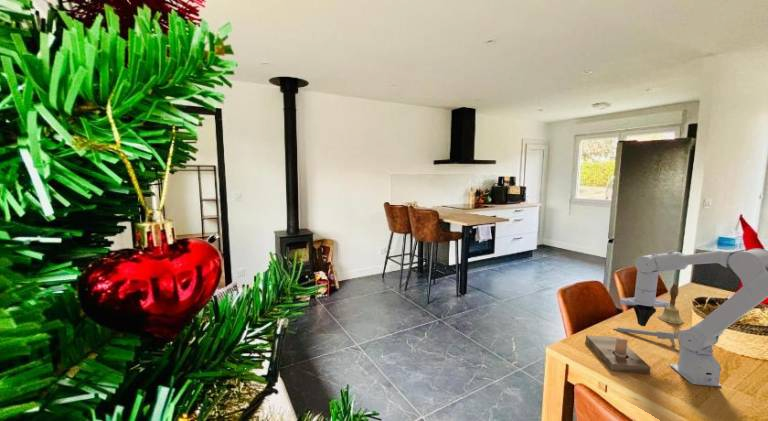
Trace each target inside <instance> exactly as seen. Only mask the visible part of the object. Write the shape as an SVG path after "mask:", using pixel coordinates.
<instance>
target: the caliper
mask: <svg viewBox="0 0 768 421" xmlns="http://www.w3.org/2000/svg"><path fill="white" fill-rule="evenodd" d="M613 330H615V331H619V332H621V333H627V334H635V335H636V334H637V335H642V336H652V337H657V338H656V339H658V340H659V339H661V340H669V342H670V343H671V345H672V346H673V347H676V344H675V340H676V339H677V342H678V345H679V347H680V345H681V344H680V342H679V341H678V333H679V332H680V331H679V330H677V331H675V330H673V332H672V331H671V332H670V331H663V330H662V331H661V330H656V331H653V330H645V329H637V328H629V327H621V326H617V327H613Z"/></svg>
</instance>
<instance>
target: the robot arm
mask: <svg viewBox="0 0 768 421" xmlns="http://www.w3.org/2000/svg"><path fill="white" fill-rule="evenodd" d="M704 264H705V265H706V264H719V265H721V266H722V267H724V268H730V269H731V270H732V271H733V272H734V274H735V275H736V276H737V277H738V278H739V279H740V281H741V283H742V284H741V285H742V287H741V288H740V289H739V290H737V291H736V292H735V293H734V294H732V295H731V296H730V297H729V298H727V300H725V301H724V302H723V303H722V304H720V305H719V306H718V307H717V308H715V309H714V310H713V311H712V312H711V313H709V314H708V315H707V316H706V317H705V318H703V319H702V320H701V321H699V322H698V323H696V324H694V325H693V326H691V327H690V328H687V329H682V330H680V331H679V333H678V339H677V342H678V341H679V342H680V344H681V345H680V346H679V354H678V361H677V364H674V363H673V364H672V363H670V364H669V365H670V367H671V368H672V369H673V370H675V371H676V372H677V373H678V374H679V375H681V376H682V377H683V378H684V379H686V380H687V381H688V382H689V383H690V384H692V385H697V386H698V385H699V386H711V387H719V388H720V387H722V384H721V383H720V378H721V373H722V372H721V370H722V366H721V363H720V362H719V361H718V360H717V359H716V358H715V357H714V354H713V352H714V350H713V346H715V345H717V343H718V342H719V339H720V336H721V335H722V334H723V333H724V331H726V330H727V329H728V328H729V327H730V326H732V325H733V324H734V323H736V322H737V321H738V320H739V319H741V318H742V317H744V316H745V315H746V314H748V313H749V312H750V311H751V310H753V309H754V308H755V307H757V306H758V305H759V304H760V303H763V302H764V300H766V299H767V298H768V250H767V249H765V248H763V249H762V248H751V249H748V250H747V249H746V248H733V249H719V250H712V251H704V252H698V253H691V254H684V253H682V252H680V251H675V250H674V249H673V250H668V251H667V252H664V253H657V252H653V253H651V254H647V255H642V256H639V257H637V258H636V259H635V260H634V267H635V268H636V270H637V272H636V279H635V286H634V287H635V289H634V295H633V296H634V297H624V298H623V297H620V299H619V304H621V305H622V306H625V307H626V306H632V308H633V310H634V312H635V315H636V319H637V324H638V325H639V326H641V327H646V325H647V323H648V322H649V320H650V318H651V317H652V316H653V315H654V314H655V313H656V312H657V309H656V308H664V309H665V308H669V305H670V302H668V301H667V300H663V299H662V300H661V299H656V295H657V288H658V281H659V273H660V272H665V271H667V272H668V271H677V270H678V271H679V270H680V271H681V270H685V269H686V268H687V267H688V266H690V265H704ZM679 342H678V343H679Z"/></svg>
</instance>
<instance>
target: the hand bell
mask: <svg viewBox="0 0 768 421" xmlns="http://www.w3.org/2000/svg"><path fill="white" fill-rule="evenodd" d="M669 296H670V301H669V308H665V307H664V308H663V311H662V313H661V314H659V315H657V318H658V319H659V320H661V321H662V322H666V323H669V324H673V325H674V324H675V325H683V324H684V320H683V319H682V318H681V316H680V311H679V310H680V309H679V308H678V307H676V306H675V305H676V299H677V297H678V296H679V288H678V284H676V283H672V285H671V287H670V290H669Z"/></svg>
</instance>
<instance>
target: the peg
mask: <svg viewBox="0 0 768 421" xmlns="http://www.w3.org/2000/svg"><path fill="white" fill-rule="evenodd" d="M615 337H616V346H615V356H617V357H619V358H625V357H626V350H627V346H628V339H627V338H625V337H622V336H615Z"/></svg>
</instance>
